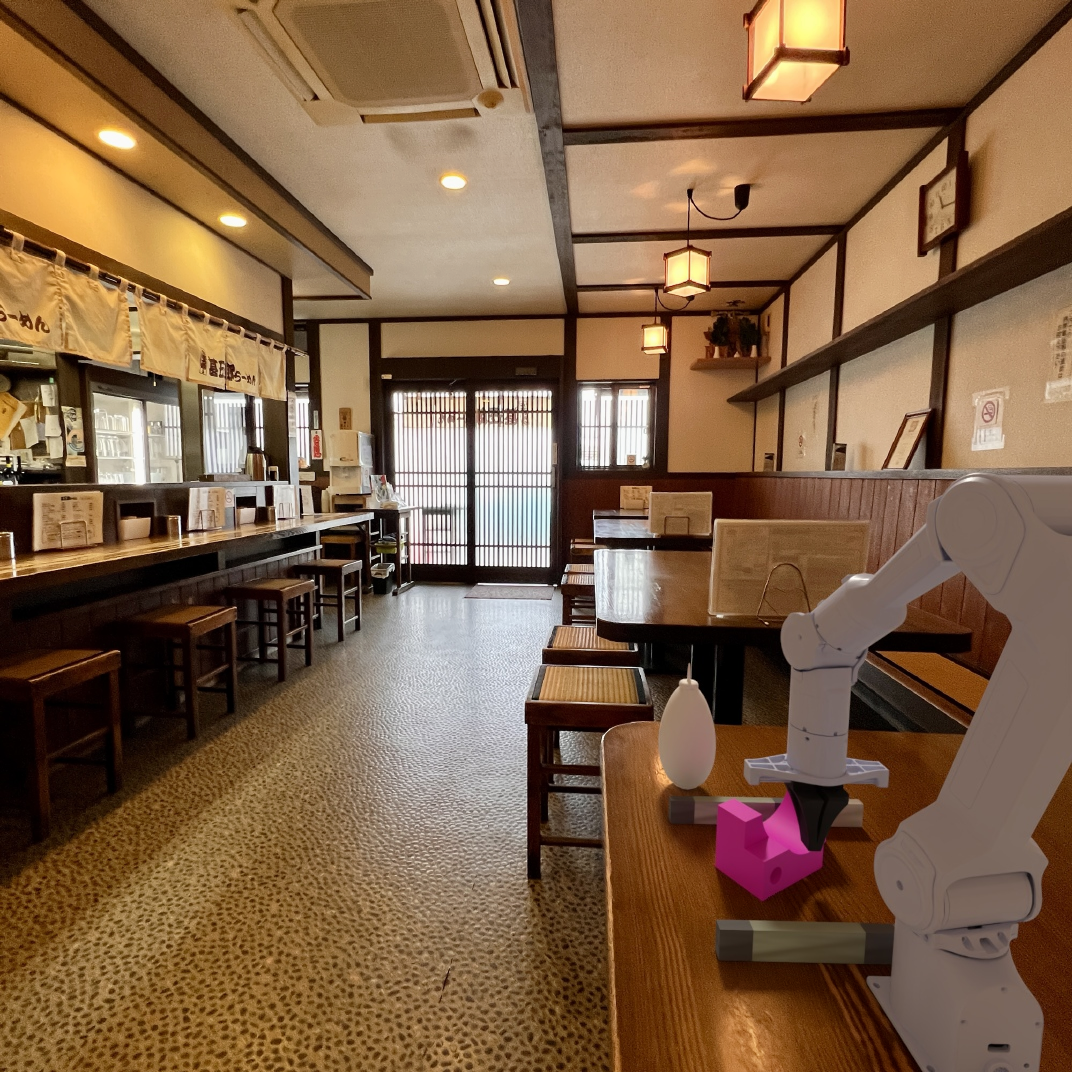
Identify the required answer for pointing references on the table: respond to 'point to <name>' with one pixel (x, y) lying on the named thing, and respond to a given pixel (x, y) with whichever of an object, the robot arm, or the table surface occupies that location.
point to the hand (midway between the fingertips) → (810, 845)
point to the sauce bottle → (687, 736)
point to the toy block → (762, 848)
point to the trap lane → (789, 936)
